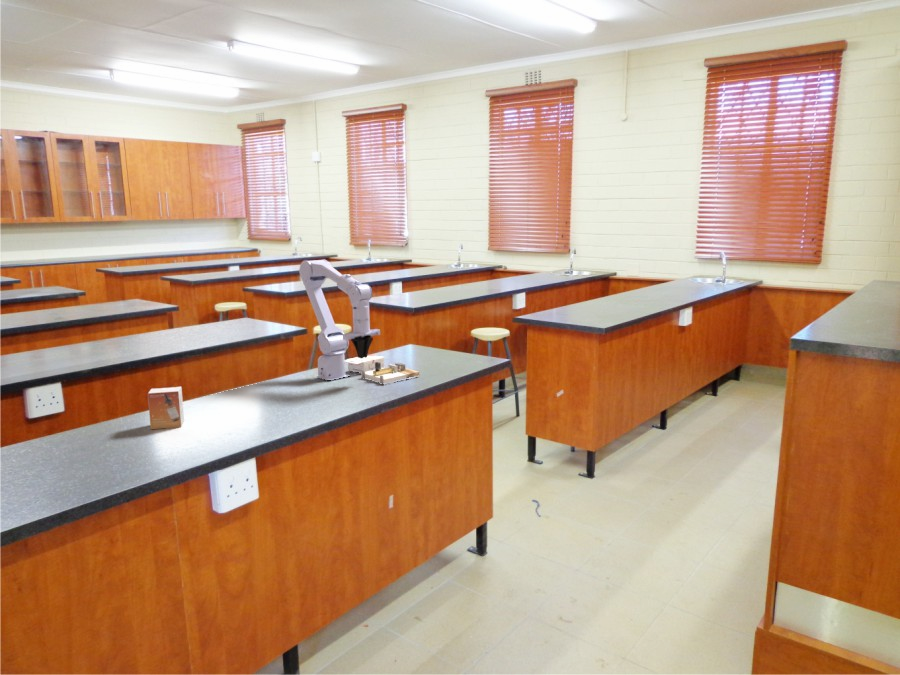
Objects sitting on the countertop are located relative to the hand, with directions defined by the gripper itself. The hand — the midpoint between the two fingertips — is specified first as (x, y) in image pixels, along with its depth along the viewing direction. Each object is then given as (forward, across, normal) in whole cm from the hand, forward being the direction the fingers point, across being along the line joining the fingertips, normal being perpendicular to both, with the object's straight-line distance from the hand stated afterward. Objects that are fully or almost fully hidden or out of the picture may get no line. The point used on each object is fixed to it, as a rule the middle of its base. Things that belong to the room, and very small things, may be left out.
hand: (362, 357), depth 211 cm
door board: (+9, +9, 0) cm, 13 cm away
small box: (+10, -66, +1) cm, 67 cm away
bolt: (+7, +9, 0) cm, 11 cm away
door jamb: (+9, +17, 0) cm, 20 cm away
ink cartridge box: (+7, +18, +17) cm, 26 cm away
